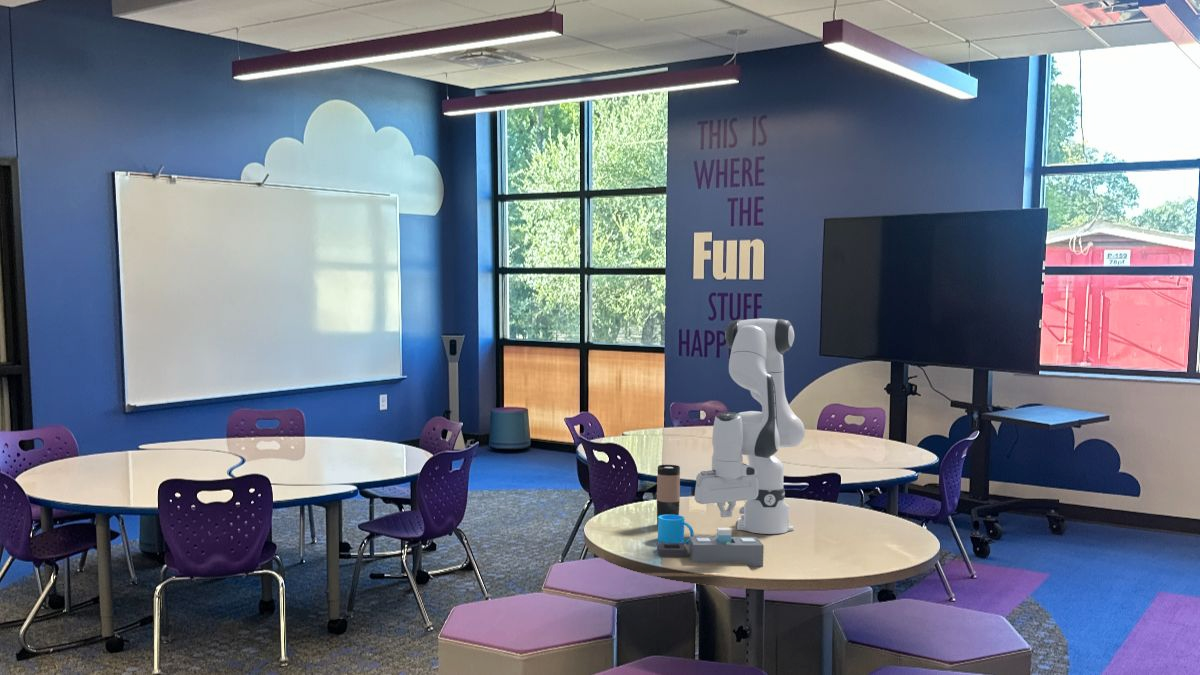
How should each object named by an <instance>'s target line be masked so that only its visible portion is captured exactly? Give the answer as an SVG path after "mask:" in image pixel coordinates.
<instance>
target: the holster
mask: <svg viewBox="0 0 1200 675" xmlns="http://www.w3.org/2000/svg"><path fill="white" fill-rule="evenodd" d="M656 551H657V553H658V556H659V558H688V549H687V547H686V543H682V542H681V543H664V542H657V543H656Z"/></svg>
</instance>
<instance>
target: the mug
mask: <svg viewBox="0 0 1200 675" xmlns="http://www.w3.org/2000/svg"><path fill="white" fill-rule="evenodd" d="M685 526H686V527H687V529H688V530H689V532H690V533H689V534H690V535H689V536H692V537H694V529H693V527H692V525H690V524H689V523H687V522H686V521H685V517H684V516H683V515H680V514H679V515H660V516H658V526H657V541H658V542H659V543H684V544H689V538H688V539H687V540H685Z"/></svg>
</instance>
